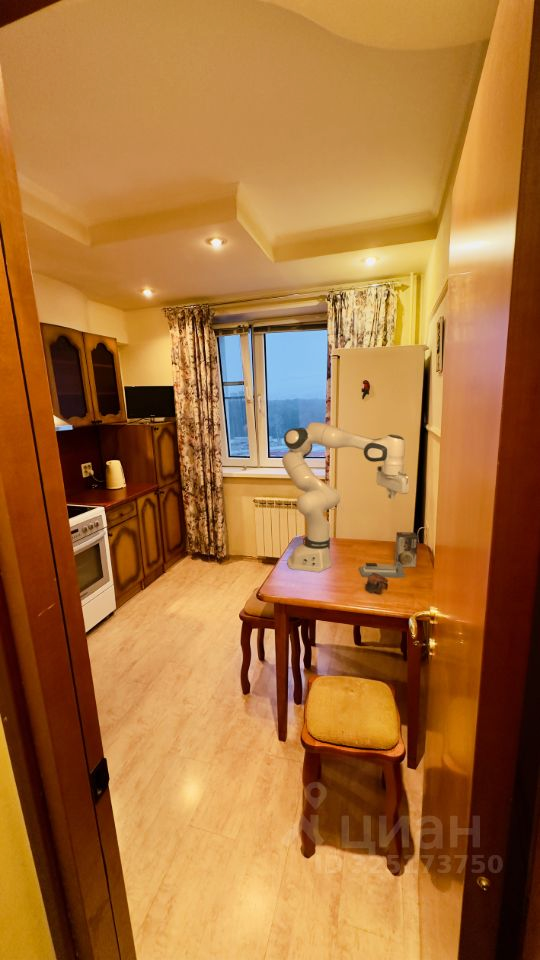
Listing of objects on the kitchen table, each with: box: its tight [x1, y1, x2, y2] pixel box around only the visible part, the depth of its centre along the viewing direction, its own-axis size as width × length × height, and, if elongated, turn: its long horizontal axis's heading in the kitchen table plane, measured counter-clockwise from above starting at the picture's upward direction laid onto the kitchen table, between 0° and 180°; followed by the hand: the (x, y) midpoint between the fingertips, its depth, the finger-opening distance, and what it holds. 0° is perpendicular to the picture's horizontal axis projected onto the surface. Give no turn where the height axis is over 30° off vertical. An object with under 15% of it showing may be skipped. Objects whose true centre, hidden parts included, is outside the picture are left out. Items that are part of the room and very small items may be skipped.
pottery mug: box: [364, 572, 389, 595], centre depth 158 cm, size 12×10×8 cm
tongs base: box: [358, 561, 406, 579], centre depth 174 cm, size 20×8×4 cm, turn 86°
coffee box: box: [394, 531, 419, 568], centre depth 181 cm, size 9×6×16 cm
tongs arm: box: [363, 562, 400, 570], centre depth 173 cm, size 16×3×2 cm, turn 86°
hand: (391, 498), depth 172 cm, fingers closed
